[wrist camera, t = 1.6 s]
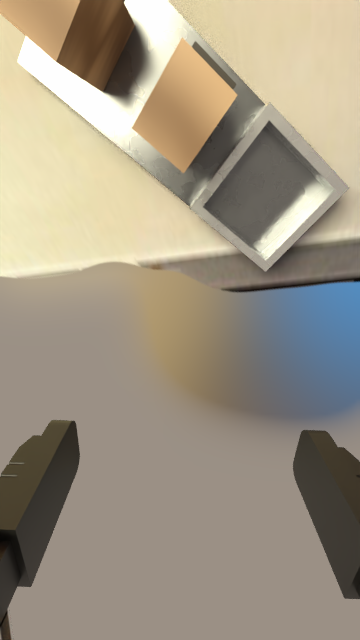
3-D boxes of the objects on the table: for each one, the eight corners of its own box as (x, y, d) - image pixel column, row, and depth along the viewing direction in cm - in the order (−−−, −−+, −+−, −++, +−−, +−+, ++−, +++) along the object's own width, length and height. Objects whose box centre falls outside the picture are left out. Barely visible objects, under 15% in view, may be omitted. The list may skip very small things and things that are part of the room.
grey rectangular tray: (80, -85, 20) (55, -136, 16) (331, 181, 27) (351, 185, 24) (26, 66, 24) (-2, 52, 20) (256, 260, 31) (264, 273, 28)
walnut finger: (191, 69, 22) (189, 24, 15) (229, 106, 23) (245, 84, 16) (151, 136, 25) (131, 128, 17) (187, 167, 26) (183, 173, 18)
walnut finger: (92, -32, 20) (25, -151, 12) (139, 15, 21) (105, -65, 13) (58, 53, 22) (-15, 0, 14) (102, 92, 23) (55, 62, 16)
